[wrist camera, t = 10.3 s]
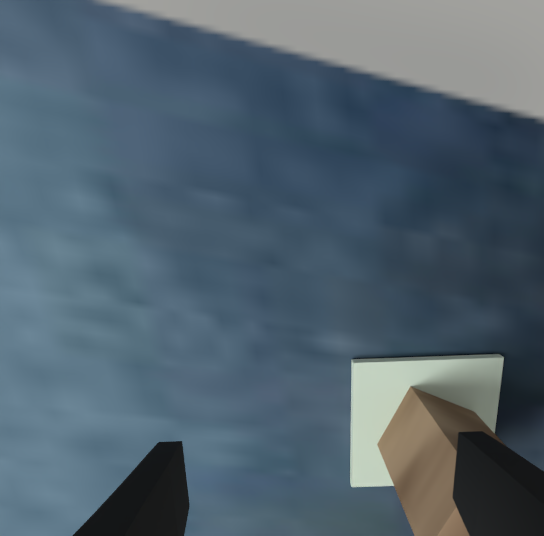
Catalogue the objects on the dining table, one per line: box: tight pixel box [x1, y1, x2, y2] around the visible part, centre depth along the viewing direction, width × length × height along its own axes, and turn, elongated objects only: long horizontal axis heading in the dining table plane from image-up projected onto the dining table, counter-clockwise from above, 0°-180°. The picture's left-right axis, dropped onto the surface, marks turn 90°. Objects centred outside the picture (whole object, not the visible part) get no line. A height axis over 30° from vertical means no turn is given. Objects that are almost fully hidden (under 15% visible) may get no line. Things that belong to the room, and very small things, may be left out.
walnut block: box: [377, 386, 506, 536], centre depth 16 cm, size 4×4×6 cm
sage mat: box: [350, 354, 504, 487], centre depth 19 cm, size 8×8×1 cm
